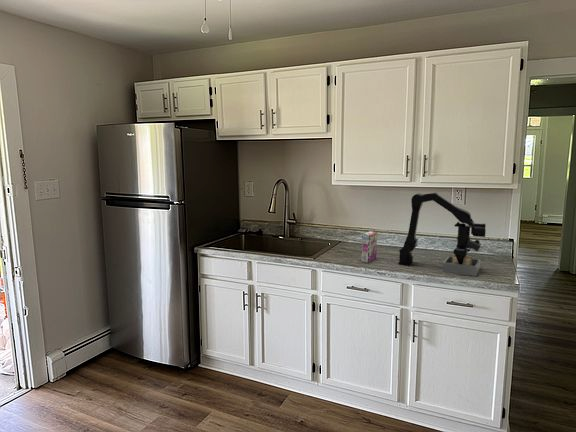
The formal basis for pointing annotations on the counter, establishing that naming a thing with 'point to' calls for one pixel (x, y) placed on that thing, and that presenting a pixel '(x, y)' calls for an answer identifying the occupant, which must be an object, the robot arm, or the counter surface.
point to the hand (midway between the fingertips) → (461, 264)
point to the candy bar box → (369, 247)
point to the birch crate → (466, 260)
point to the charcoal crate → (461, 267)
